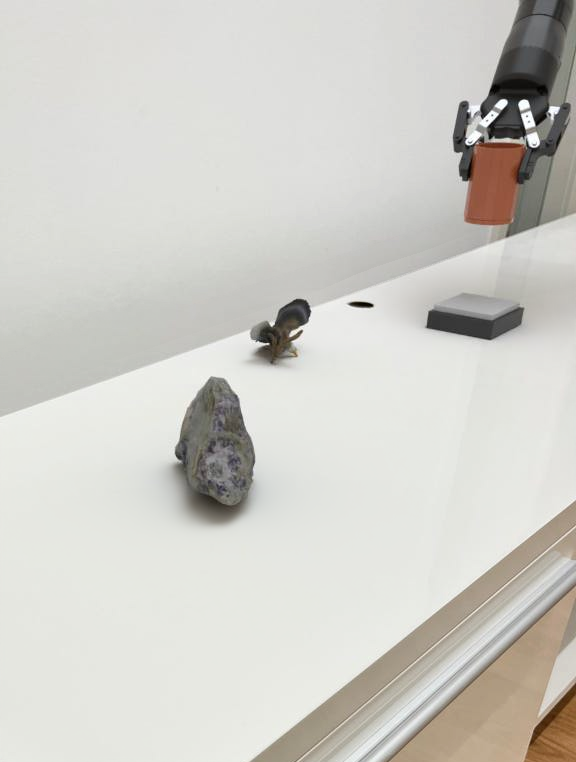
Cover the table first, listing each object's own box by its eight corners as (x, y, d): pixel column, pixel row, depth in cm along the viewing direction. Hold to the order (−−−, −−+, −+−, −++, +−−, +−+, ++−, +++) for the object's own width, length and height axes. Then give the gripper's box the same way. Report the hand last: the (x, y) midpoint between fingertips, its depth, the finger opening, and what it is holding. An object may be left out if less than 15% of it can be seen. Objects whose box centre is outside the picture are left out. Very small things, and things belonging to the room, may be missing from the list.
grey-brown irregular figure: (319, 357, 125) (324, 323, 132) (290, 309, 122) (296, 277, 129) (265, 385, 130) (272, 351, 136) (235, 340, 126) (244, 307, 133)
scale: (521, 324, 139) (525, 301, 137) (490, 339, 134) (494, 316, 132) (457, 312, 144) (461, 291, 143) (425, 327, 139) (429, 304, 137)
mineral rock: (230, 525, 90) (236, 415, 85) (124, 501, 95) (123, 395, 89) (287, 473, 99) (295, 371, 94) (187, 453, 104) (190, 355, 99)
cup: (521, 219, 135) (534, 144, 130) (499, 227, 131) (513, 150, 126) (476, 214, 139) (488, 140, 134) (454, 222, 135) (465, 146, 130)
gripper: (470, 43, 133) (433, 156, 130) (589, 43, 126) (553, 161, 124) (472, 86, 139) (437, 194, 137) (586, 87, 133) (551, 201, 131)
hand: (492, 178), depth 131 cm, fingers closed on cup, 6 cm apart
